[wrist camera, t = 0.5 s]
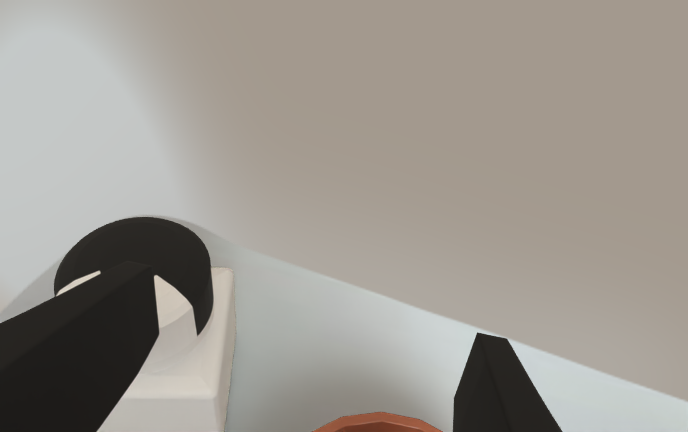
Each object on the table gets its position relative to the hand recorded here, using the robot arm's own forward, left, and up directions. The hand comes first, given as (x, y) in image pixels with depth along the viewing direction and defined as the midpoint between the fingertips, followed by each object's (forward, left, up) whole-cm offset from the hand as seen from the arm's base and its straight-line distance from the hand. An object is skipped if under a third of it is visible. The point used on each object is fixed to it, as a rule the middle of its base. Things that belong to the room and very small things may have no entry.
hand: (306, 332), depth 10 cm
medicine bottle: (+5, +8, -19) cm, 21 cm away
